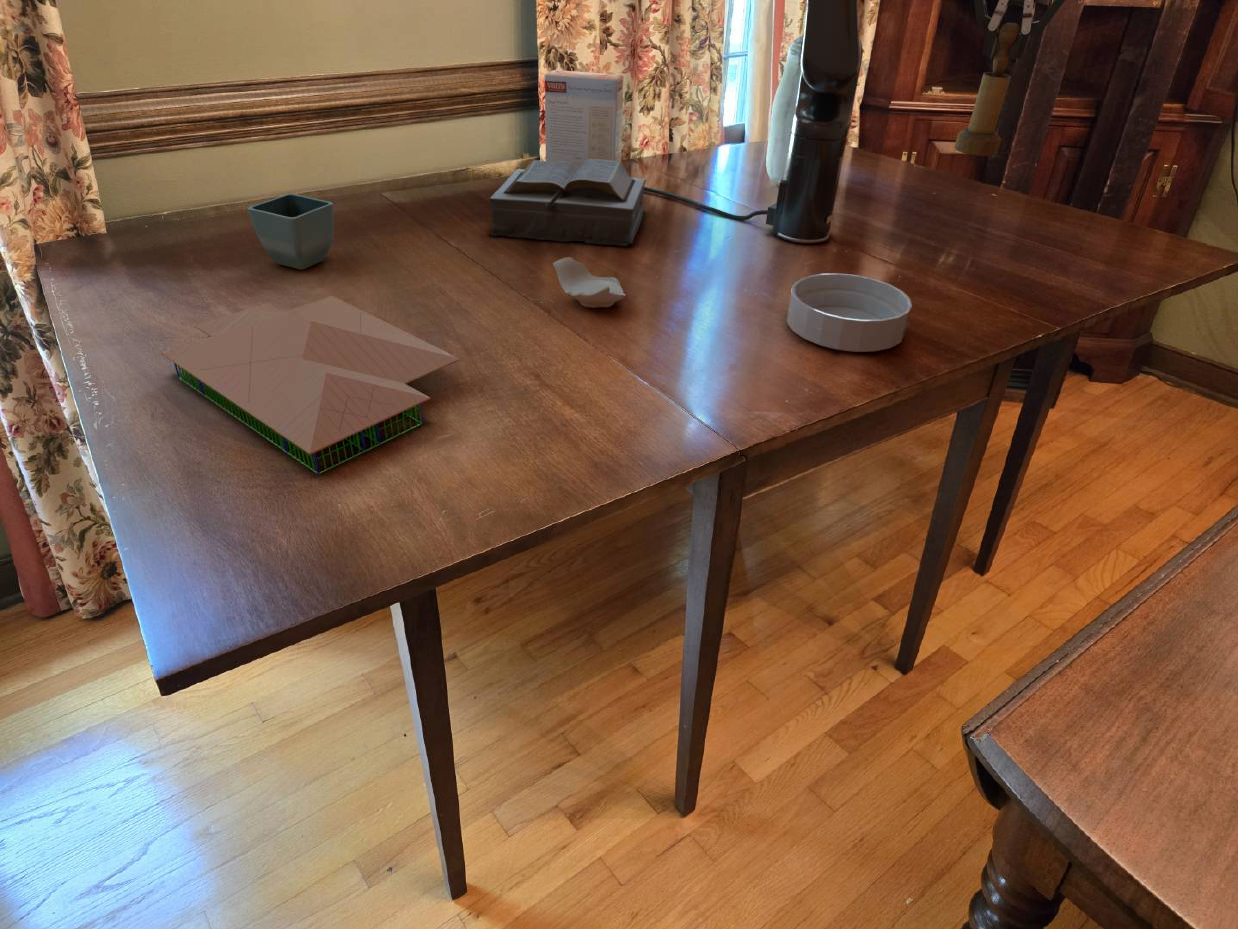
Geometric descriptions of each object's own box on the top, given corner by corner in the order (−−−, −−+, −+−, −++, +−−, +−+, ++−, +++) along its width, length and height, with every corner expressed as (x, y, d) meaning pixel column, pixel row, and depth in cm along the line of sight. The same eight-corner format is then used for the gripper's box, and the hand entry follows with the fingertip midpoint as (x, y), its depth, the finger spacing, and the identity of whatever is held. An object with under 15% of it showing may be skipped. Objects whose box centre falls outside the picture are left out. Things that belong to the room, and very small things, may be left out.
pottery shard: (619, 322, 114) (620, 288, 111) (541, 313, 116) (540, 280, 113) (632, 292, 123) (633, 260, 120) (559, 285, 124) (559, 253, 121)
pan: (770, 336, 112) (775, 302, 109) (806, 296, 124) (811, 265, 121) (888, 366, 106) (896, 331, 104) (913, 321, 118) (922, 288, 115)
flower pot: (343, 259, 129) (334, 201, 124) (303, 278, 122) (292, 218, 117) (300, 248, 132) (289, 192, 127) (258, 266, 125) (245, 207, 120)
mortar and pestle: (1000, 158, 127) (1039, 27, 117) (957, 154, 128) (992, 24, 118) (993, 147, 133) (1029, 21, 122) (951, 143, 133) (984, 18, 123)
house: (324, 312, 113) (313, 254, 108) (488, 396, 96) (484, 333, 92) (156, 369, 98) (136, 306, 94) (315, 481, 82) (300, 410, 77)
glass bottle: (801, 195, 166) (827, 40, 150) (755, 186, 170) (774, 34, 154) (819, 184, 173) (845, 35, 157) (774, 175, 177) (794, 29, 161)
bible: (621, 257, 134) (624, 196, 129) (472, 233, 141) (468, 174, 135) (661, 215, 153) (665, 160, 147) (527, 195, 159) (526, 142, 153)
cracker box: (620, 187, 166) (625, 73, 154) (613, 195, 161) (617, 79, 149) (553, 179, 168) (553, 67, 156) (545, 188, 163) (543, 72, 151)
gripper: (1096, -76, 113) (1053, 62, 123) (989, -82, 118) (956, 51, 128) (1094, -75, 108) (1049, 69, 117) (982, -82, 113) (948, 57, 123)
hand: (1000, 59), depth 123 cm, fingers closed on mortar and pestle, 3 cm apart
